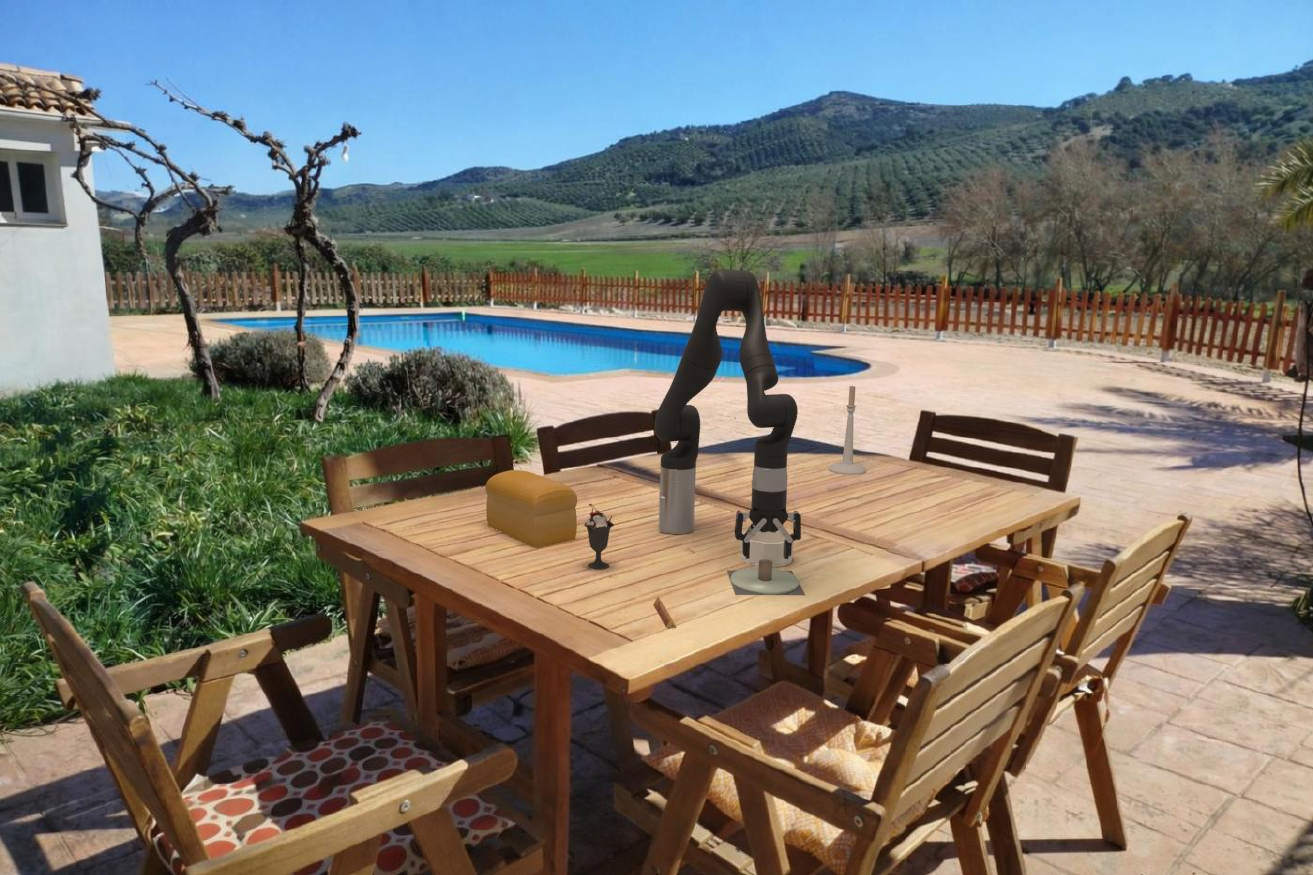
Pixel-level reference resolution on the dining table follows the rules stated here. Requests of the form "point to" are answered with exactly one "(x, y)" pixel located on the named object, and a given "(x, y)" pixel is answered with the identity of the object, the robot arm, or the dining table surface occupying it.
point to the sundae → (598, 536)
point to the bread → (531, 508)
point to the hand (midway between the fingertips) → (766, 557)
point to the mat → (741, 592)
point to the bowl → (767, 549)
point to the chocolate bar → (663, 614)
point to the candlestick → (848, 444)
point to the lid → (765, 579)
